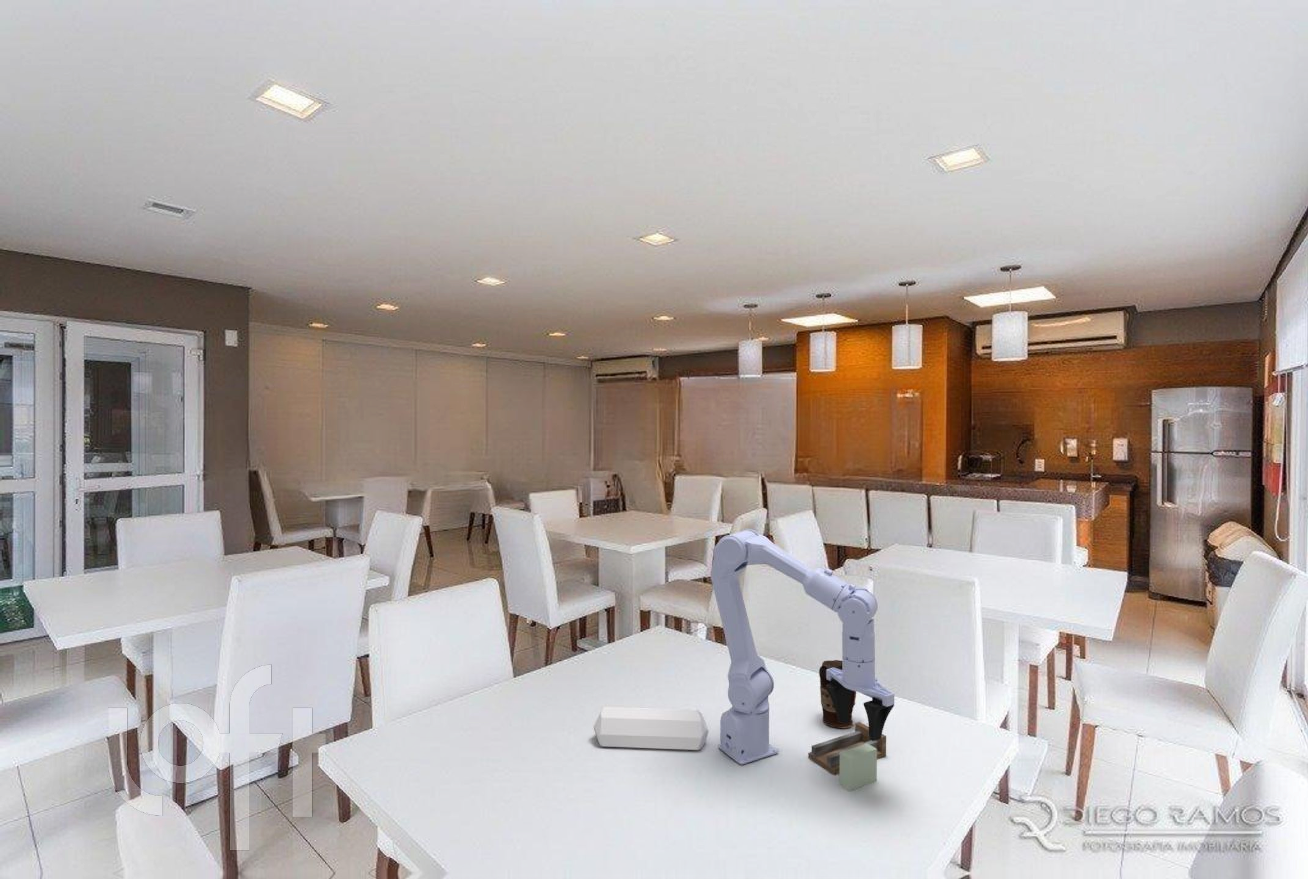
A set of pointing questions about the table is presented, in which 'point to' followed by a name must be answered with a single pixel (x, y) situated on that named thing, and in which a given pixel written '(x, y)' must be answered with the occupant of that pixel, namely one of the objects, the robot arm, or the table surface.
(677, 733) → the crystal
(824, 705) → the coffee cup
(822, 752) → the track sill
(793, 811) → the table surface
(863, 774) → the door panel
